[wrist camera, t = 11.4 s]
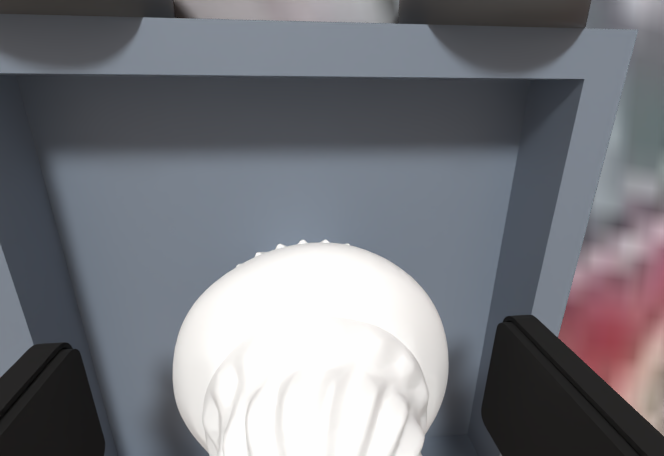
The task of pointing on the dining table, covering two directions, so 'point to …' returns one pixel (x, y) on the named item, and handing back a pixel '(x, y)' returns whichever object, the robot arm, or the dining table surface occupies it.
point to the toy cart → (291, 176)
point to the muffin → (311, 357)
